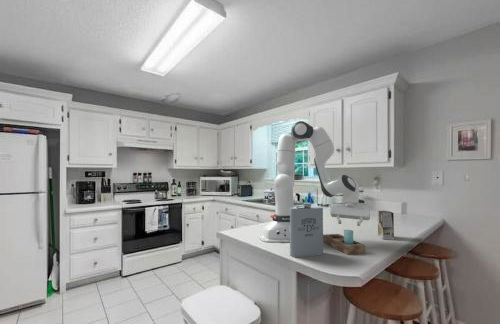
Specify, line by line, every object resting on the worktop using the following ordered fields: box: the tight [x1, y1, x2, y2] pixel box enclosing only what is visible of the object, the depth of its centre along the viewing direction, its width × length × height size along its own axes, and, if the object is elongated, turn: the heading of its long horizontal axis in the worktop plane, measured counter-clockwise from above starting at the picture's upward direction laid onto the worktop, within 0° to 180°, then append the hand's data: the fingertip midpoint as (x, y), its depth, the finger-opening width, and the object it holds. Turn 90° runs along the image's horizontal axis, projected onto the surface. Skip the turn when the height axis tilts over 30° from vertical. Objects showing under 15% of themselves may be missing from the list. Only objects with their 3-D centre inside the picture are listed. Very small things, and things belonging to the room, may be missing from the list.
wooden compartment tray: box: [323, 233, 366, 255], centre depth 125 cm, size 10×22×4 cm, turn 13°
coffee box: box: [377, 210, 395, 241], centre depth 144 cm, size 9×6×16 cm
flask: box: [289, 202, 324, 258], centre depth 113 cm, size 17×5×25 cm, turn 107°
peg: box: [343, 229, 354, 245], centre depth 120 cm, size 4×4×10 cm
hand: (349, 224), depth 124 cm, fingers open, 8 cm apart
